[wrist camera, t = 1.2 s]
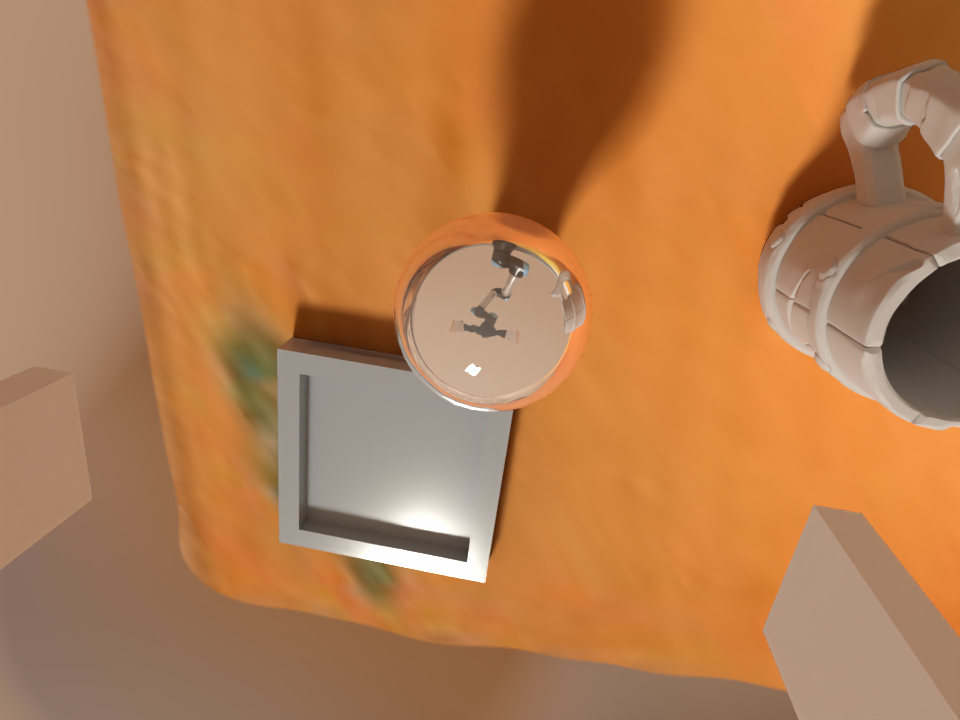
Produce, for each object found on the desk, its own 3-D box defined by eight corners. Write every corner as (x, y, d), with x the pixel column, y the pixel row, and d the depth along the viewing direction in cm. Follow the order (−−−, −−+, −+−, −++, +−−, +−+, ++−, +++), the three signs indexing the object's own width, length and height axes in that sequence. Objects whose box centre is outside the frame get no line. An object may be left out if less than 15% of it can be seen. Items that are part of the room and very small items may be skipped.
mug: (753, 358, 28) (872, 503, 17) (739, 99, 24) (882, 73, 13) (928, 334, 27) (1183, 476, 16) (944, 54, 23) (1297, -19, 12)
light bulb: (531, 356, 30) (512, 488, 19) (417, 281, 29) (327, 373, 18) (614, 243, 27) (648, 319, 16) (491, 159, 27) (438, 179, 16)
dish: (292, 337, 31) (277, 348, 30) (519, 375, 30) (516, 389, 29) (292, 523, 36) (279, 541, 34) (488, 561, 35) (484, 583, 33)
